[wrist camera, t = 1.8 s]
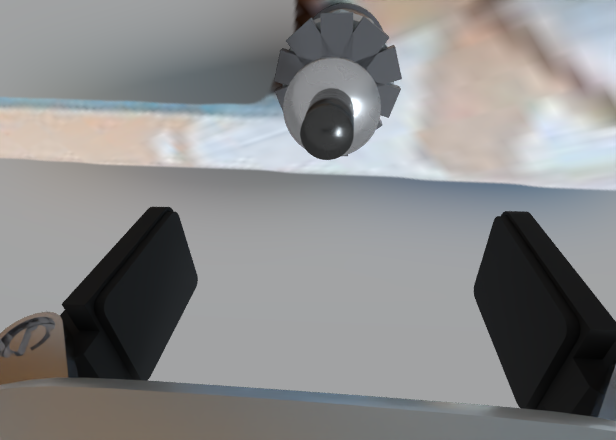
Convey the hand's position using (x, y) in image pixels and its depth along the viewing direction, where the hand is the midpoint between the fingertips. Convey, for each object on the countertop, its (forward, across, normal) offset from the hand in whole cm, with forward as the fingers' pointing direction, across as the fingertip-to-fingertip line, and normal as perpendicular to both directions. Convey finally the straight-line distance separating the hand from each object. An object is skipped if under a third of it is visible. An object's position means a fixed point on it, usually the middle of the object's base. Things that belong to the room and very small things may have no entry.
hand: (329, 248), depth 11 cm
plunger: (+22, 0, 0) cm, 22 cm away
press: (+35, 0, 0) cm, 35 cm away
